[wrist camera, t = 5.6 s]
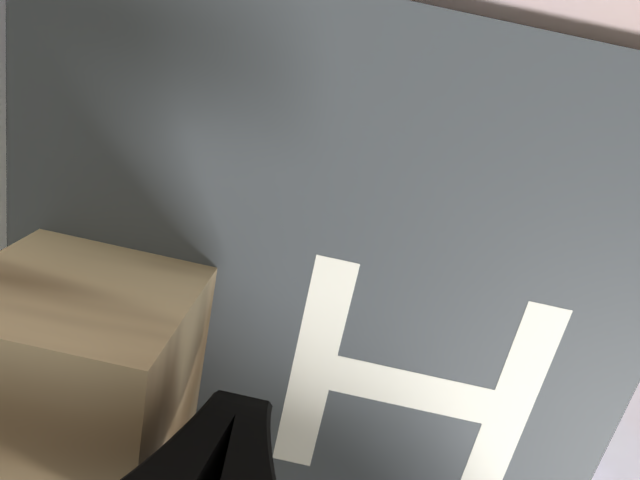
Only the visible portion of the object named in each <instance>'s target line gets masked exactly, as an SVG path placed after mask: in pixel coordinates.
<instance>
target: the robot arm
mask: <svg viewBox="0 0 640 480" xmlns="http://www.w3.org/2000/svg"><path fill="white" fill-rule="evenodd" d="M272 407H273V406H272V404H271V403H270V402H269V401H267V400H262V399H258V398H254V397H249V396H245V395H240V394H236V393H231V392H227V391H222V390H218V391H216V392H214V393H213V394H212V396H211V397H210V398H209V399H208V400H207V402H206V403H205V404H204V405H203V406H202V407H201V408H200V409H199V411H198V412H197V413H196V414H195V415H194V416H193V417H192V418H191V419H190V420H189V421H188V422H187V423H186V424H185V425H184V426H183V427H182V428H181V429H180V430H179V431H177V432H176V433H175V434H174V435H173V436H172V437H171V438H170V439H169V440H168V441H167V442H166V443H165V444H163V445H162V446H161V447H160V448H159V449H158V450H156V451H155V452H154V453H153V454H152V455H150V456H149V457H148V458H147V459H146V460H144V461H143V462H142V463H141V464H140V465H138V466H137V467H136V468H135V469H133V470H132V471H131V472H129V473H128V474H127V475H125V476H124V477H123V478H121V479H120V480H276V475H275V469H274V462H273V455H272V446H271V412H272Z"/></svg>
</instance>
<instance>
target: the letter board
mask: <svg viewBox="0 0 640 480" xmlns="http://www.w3.org/2000/svg"><path fill="white" fill-rule="evenodd" d="M6 140H7V247H8V246H10V245H11V244H13V243H15V242H17V241H19V240H20V239H22V238H24V237H26V236H28V235H29V234H31V233H33V232H35V231H37V230H38V229H43V230H48V231H52V232H57V233H62V234H66V235H71V236H75V237H80V238H84V239H89V240H93V241H98V242H102V243H107V244H112V245H116V246H121V247H125V248H130V249H134V250H139V251H143V252H148V253H153V254H157V255H162V256H166V257H171V258H175V259H180V260H184V261H189V262H193V263H198V264H203V265H207V266H212V267H216V268H217V274H216V281H215V288H214V295H213V301H212V308H211V315H210V322H209V328H208V335H207V342H206V349H205V355H204V362H203V369H202V376H201V383H200V389H199V396H198V403H197V410H196V413H197V412H198V411H199V409H200V408H201V407H202V406H203V405H204V404H205V403H206V402H207V400H208V399H209V398H210V397H211V396H212V394H213V393H214V392H216V391H218V390H222V391H227V392H231V393H236V394H240V395H245V396H249V397H254V398H258V399H262V400H267V401H269V402H270V403H271V404H272V406H273V407H272V412H271V446H272V455H273V462H274V469H275V475H276V480H591V479H592V477H593V475H594V473H595V471H596V469H597V467H598V465H599V463H600V461H601V459H602V457H603V455H604V453H605V451H606V449H607V447H608V445H609V443H610V441H611V439H612V437H613V435H614V433H615V431H616V429H617V426H618V424H619V422H620V420H621V418H622V416H623V414H624V412H625V410H626V408H627V406H628V404H629V402H630V400H631V398H632V396H633V394H634V392H635V390H636V388H637V386H638V384H639V382H640V50H637V49H632V48H627V47H623V46H618V45H613V44H609V43H604V42H600V41H595V40H590V39H586V38H581V37H576V36H572V35H567V34H563V33H558V32H553V31H549V30H544V29H539V28H535V27H530V26H526V25H521V24H516V23H512V22H507V21H502V20H498V19H493V18H489V17H484V16H479V15H475V14H470V13H465V12H461V11H456V10H452V9H447V8H442V7H438V6H433V5H428V4H424V3H419V2H415V1H410V0H6Z"/></svg>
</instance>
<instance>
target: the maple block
mask: <svg viewBox="0 0 640 480" xmlns="http://www.w3.org/2000/svg"><path fill="white" fill-rule="evenodd" d="M216 274H217V268H216V267H212V266H207V265H203V264H198V263H193V262H189V261H184V260H180V259H175V258H171V257H166V256H162V255H157V254H153V253H148V252H143V251H139V250H134V249H130V248H125V247H121V246H116V245H112V244H107V243H102V242H98V241H93V240H89V239H84V238H80V237H75V236H71V235H66V234H62V233H57V232H52V231H48V230H43V229H38V230H37V231H35V232H33V233H31V234H29V235H28V236H26V237H24V238H22V239H20V240H19V241H17V242H15V243H13V244H11V245H10V246H8V247H6V248H4V249H2V250H1V251H0V480H120V479H121V478H123V477H124V476H125V475H127V474H128V473H129V472H131V471H132V470H133V469H135V468H136V467H137V466H138V465H140V464H141V463H142V462H143V461H144V460H146V459H147V458H148V457H149V456H150V455H152V454H153V453H154V452H155V451H156V450H158V449H159V448H160V447H161V446H162V445H163V444H165V443H166V442H167V441H168V440H169V439H170V438H171V437H172V436H173V435H174V434H175V433H176V432H177V431H179V430H180V429H181V428H182V427H183V426H184V425H185V424H186V423H187V422H188V421H189V420H190V419H191V418H192V417H193V416H194V415H195V414H196V410H197V403H198V396H199V389H200V383H201V376H202V369H203V362H204V355H205V349H206V342H207V335H208V328H209V322H210V315H211V308H212V301H213V295H214V288H215V281H216Z"/></svg>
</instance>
